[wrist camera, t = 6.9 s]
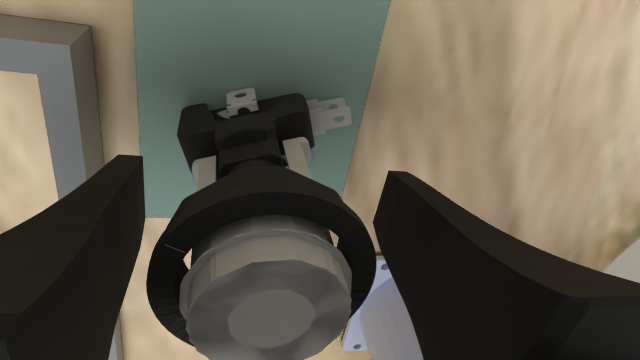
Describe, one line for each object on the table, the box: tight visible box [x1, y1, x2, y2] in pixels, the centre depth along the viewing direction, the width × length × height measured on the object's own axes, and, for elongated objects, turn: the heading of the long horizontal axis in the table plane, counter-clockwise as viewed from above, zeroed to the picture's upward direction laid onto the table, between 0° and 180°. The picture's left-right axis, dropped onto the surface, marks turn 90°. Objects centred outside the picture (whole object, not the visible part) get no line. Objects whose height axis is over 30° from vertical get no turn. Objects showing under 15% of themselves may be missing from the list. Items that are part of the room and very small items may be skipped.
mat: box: [133, 0, 391, 218], centre depth 17 cm, size 9×11×1 cm
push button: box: [146, 88, 377, 360], centre depth 13 cm, size 7×5×10 cm
